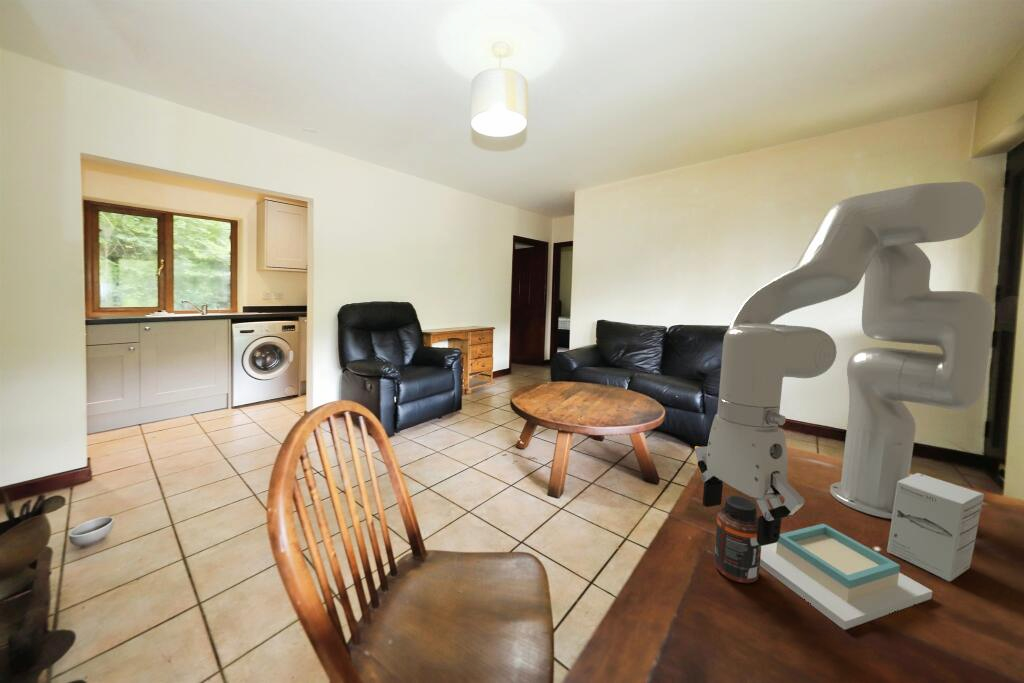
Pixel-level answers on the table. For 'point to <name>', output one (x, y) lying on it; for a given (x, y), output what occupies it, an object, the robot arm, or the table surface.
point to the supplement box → (935, 525)
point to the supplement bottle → (738, 540)
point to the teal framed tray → (840, 575)
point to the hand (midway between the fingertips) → (737, 522)
